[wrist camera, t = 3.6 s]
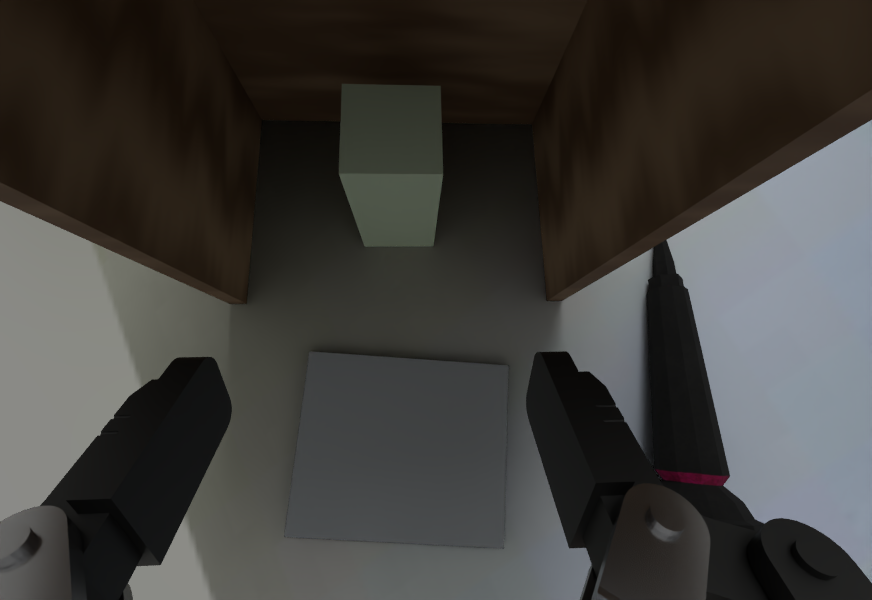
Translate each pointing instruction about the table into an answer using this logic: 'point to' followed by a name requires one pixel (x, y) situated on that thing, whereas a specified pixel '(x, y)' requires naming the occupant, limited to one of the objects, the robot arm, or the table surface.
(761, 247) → the table surface
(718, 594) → the robot arm
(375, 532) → the slate mat
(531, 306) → the table surface
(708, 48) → the walnut cubby
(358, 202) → the sage block
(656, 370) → the microphone
